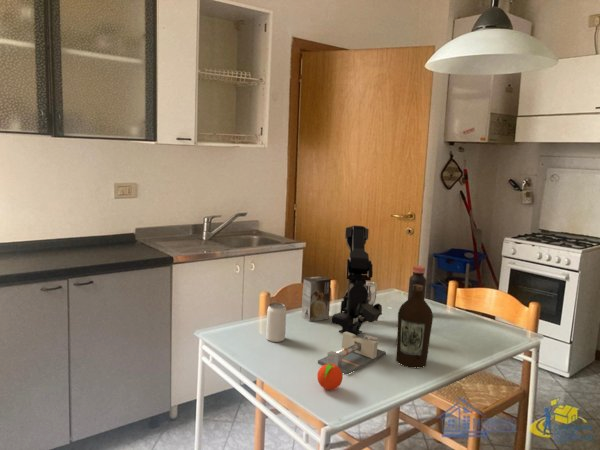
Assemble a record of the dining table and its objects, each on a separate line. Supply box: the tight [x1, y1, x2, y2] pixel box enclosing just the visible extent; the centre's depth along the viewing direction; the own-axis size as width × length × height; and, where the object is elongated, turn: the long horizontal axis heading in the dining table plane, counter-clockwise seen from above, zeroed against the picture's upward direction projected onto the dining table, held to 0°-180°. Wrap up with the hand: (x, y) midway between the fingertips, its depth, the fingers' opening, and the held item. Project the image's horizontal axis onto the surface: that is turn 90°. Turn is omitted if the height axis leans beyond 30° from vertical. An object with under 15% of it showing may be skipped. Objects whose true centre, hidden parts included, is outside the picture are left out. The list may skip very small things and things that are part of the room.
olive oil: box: [395, 284, 434, 369], centre depth 155 cm, size 11×11×25 cm
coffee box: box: [301, 275, 332, 322], centre depth 193 cm, size 9×6×16 cm
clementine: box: [316, 363, 343, 391], centre depth 135 cm, size 8×7×7 cm
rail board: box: [317, 348, 387, 375], centre depth 156 cm, size 22×11×1 cm, turn 140°
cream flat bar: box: [341, 332, 378, 359], centre depth 158 cm, size 2×12×5 cm, turn 50°
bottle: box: [407, 265, 427, 301], centre depth 205 cm, size 7×7×20 cm
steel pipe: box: [326, 335, 379, 367], centre depth 156 cm, size 22×4×4 cm, turn 140°
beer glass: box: [363, 280, 378, 324], centre depth 193 cm, size 7×7×15 cm
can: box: [265, 302, 287, 343], centre depth 169 cm, size 6×6×12 cm
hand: (353, 339), depth 163 cm, fingers closed
